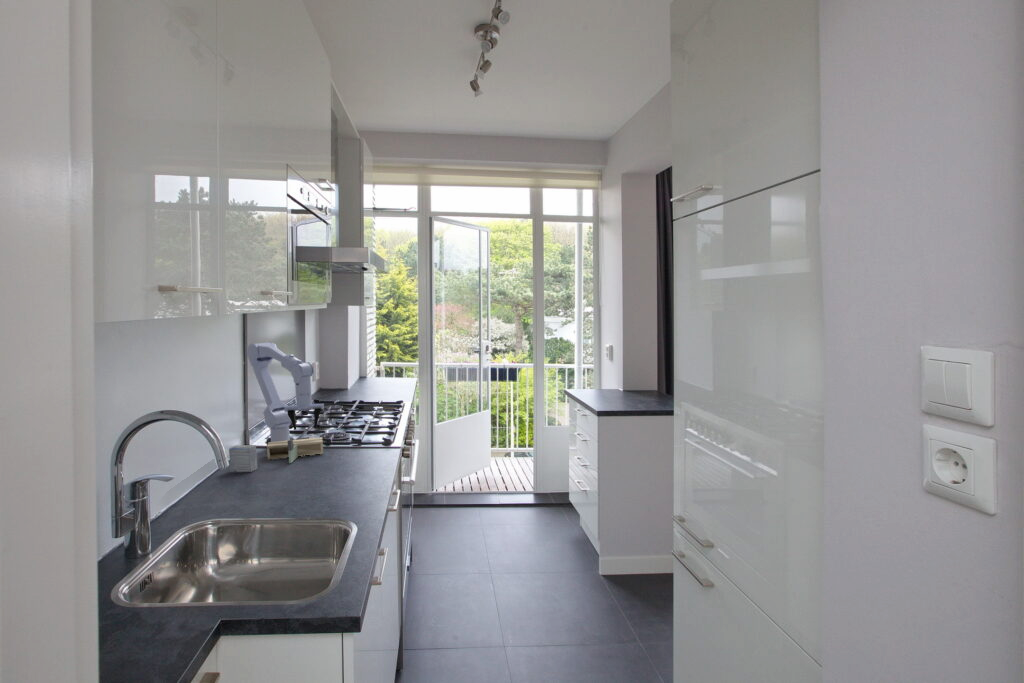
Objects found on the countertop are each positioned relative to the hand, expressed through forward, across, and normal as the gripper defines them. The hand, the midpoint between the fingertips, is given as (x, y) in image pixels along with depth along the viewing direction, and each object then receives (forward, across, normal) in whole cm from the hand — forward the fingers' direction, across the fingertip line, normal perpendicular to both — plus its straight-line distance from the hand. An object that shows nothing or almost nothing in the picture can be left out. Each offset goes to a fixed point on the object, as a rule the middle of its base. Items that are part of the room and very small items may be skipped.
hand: (305, 428), depth 242 cm
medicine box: (+10, -19, -21) cm, 30 cm away
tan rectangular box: (+9, -4, -2) cm, 10 cm away
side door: (+9, -4, -12) cm, 15 cm away
